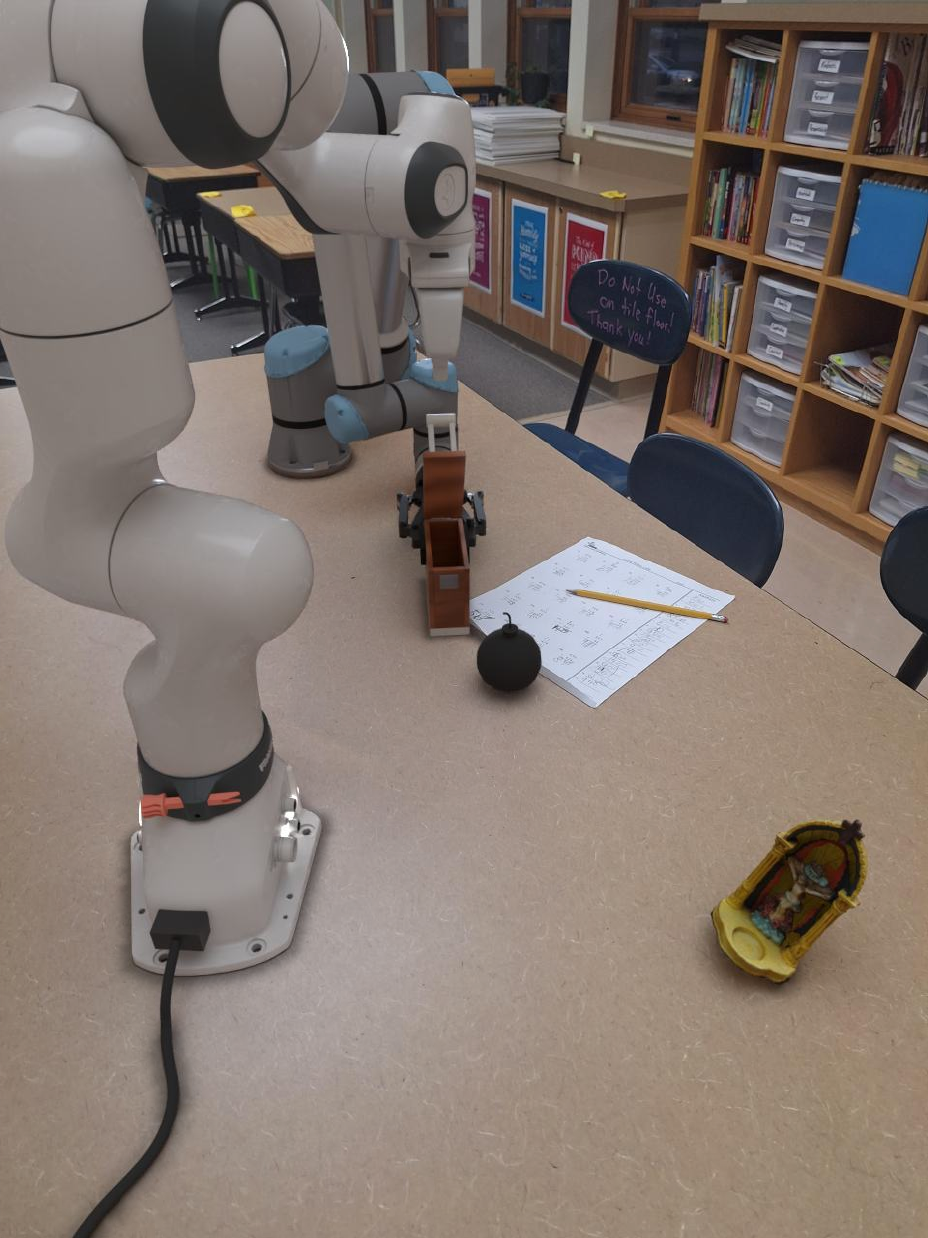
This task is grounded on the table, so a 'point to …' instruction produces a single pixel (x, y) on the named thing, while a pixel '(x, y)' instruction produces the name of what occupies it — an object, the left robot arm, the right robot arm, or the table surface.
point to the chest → (447, 577)
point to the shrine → (792, 897)
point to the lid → (443, 473)
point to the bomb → (509, 658)
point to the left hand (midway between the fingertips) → (439, 371)
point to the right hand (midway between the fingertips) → (445, 555)
